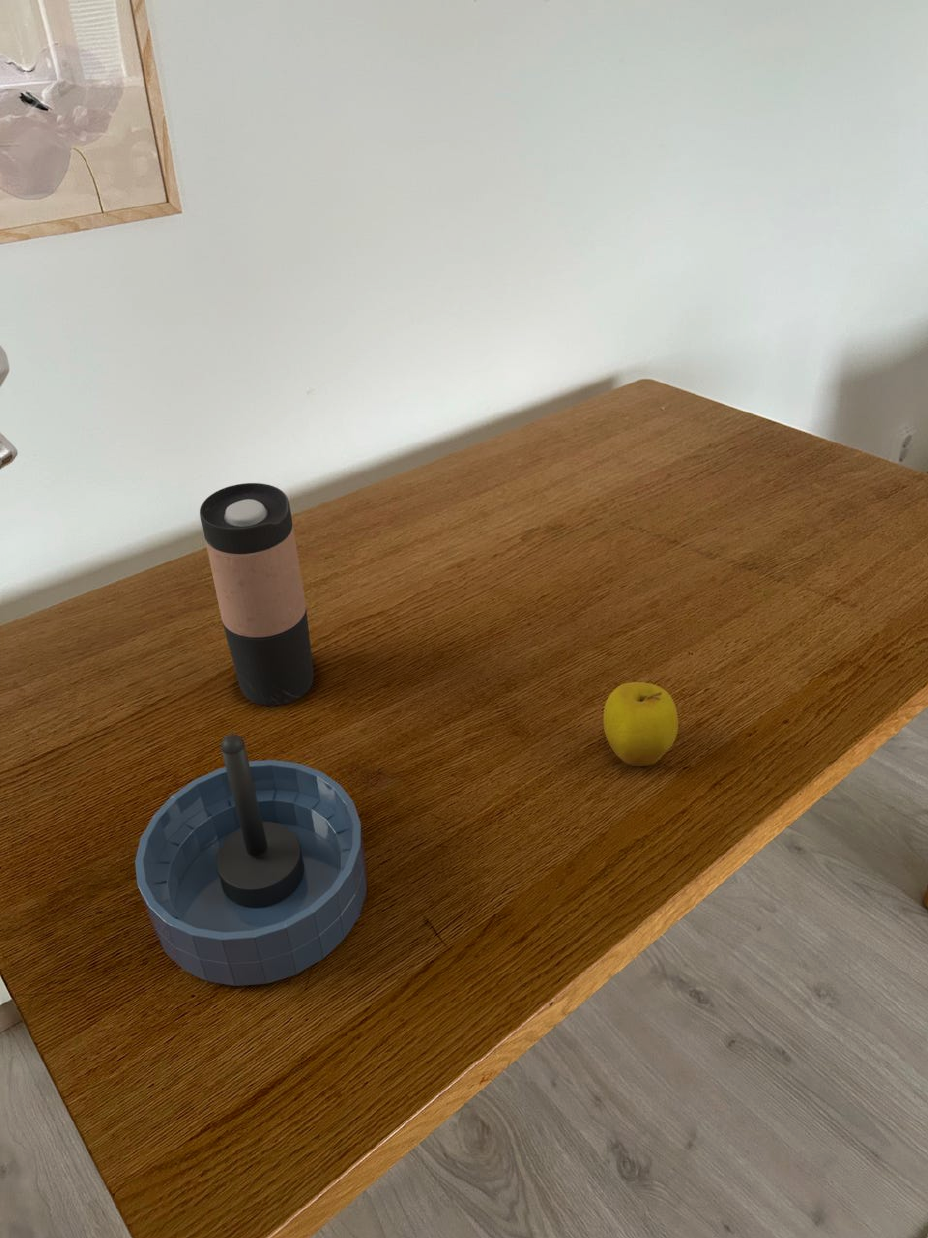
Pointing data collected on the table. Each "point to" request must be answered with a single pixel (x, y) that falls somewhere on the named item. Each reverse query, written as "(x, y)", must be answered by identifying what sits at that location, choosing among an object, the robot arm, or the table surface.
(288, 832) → the joystick
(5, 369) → the robot arm
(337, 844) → the bowl
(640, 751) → the yellow fruit
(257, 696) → the travel mug
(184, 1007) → the table surface
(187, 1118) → the table surface
